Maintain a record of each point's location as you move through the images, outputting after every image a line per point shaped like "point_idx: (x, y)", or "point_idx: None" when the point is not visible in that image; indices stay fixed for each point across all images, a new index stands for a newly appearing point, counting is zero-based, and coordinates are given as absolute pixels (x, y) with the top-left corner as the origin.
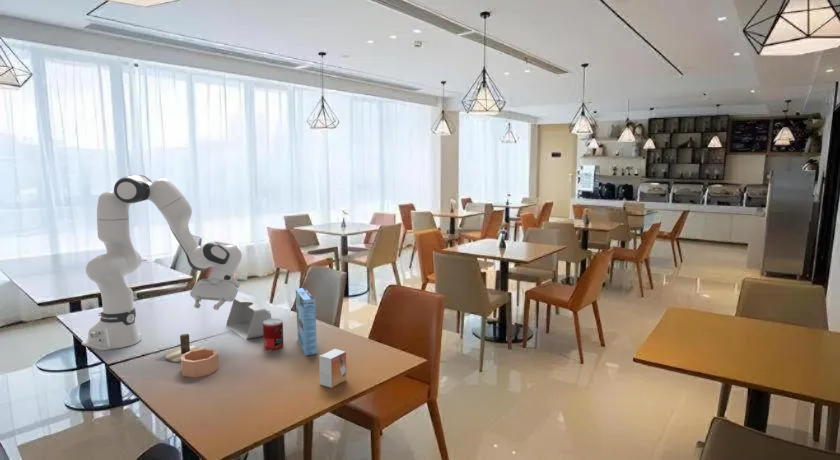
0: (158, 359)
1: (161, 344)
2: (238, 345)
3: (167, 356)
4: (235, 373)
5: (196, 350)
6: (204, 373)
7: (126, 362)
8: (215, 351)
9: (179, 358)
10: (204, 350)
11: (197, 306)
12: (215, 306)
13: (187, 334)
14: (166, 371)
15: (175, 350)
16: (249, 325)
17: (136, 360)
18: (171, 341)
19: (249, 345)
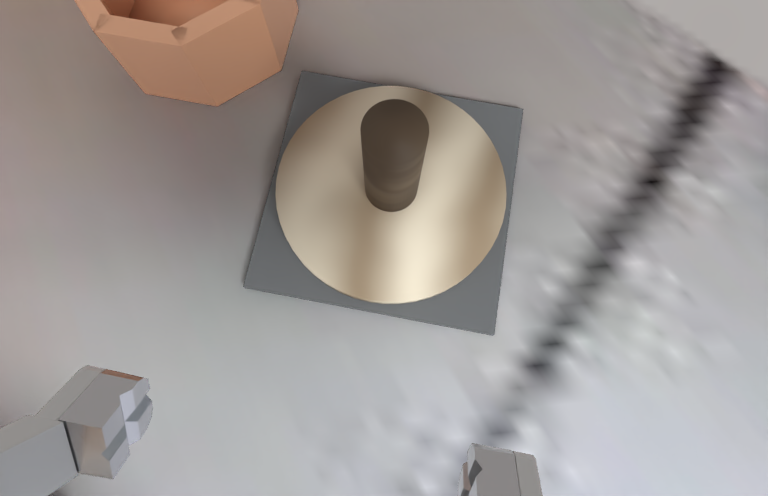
0: (509, 116)
1: (679, 366)
2: None
3: (463, 119)
4: (10, 12)
5: (220, 9)
6: None
7: (664, 83)
8: (86, 5)
9: (374, 99)
10: (175, 29)
11: (469, 457)
12: (91, 386)
13: (381, 149)
14: (375, 5)
15: (476, 211)
16: None
17: (632, 110)
18: (652, 433)
19: (31, 412)
